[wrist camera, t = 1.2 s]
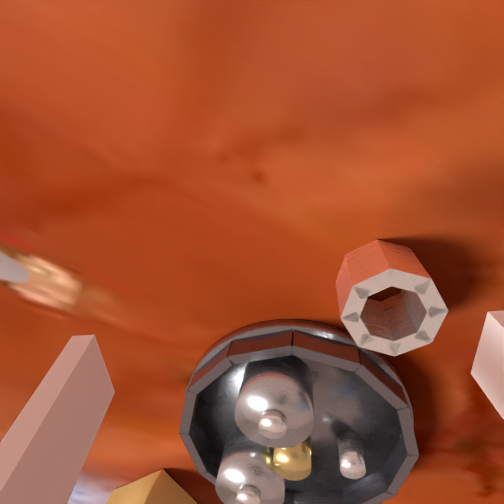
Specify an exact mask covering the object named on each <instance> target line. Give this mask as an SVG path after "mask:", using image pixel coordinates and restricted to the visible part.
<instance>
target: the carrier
mask: <svg viewBox="0 0 504 504" xmlns="http://www.w3.org/2000/svg"><path fill="white" fill-rule="evenodd" d="M179 434H180V436H181V438H182V440H183V442H184V444H185V446H186V448H187V450H188V452H189V454H190V456H191V458H192V460H193V462H194V464H195V466H196V468H197V470H198V472H199V474H200V475H202V476H203V477H204V478H206V479H207V480H208V481H209V482H211V483H212V484H213V485H215V490H216V493H217V495H218V497H219V498H220V500H221V501H222V502H223V503H224V504H380V503H382V502H384V501H386V500H388V499H390V498H392V497H395V496H396V494H397V492H398V491H399V489H400V487H401V486H402V484H403V482H404V481H405V479H406V477H407V476H408V474H409V472H410V471H411V469H412V467H413V466H414V464H415V462H416V461H417V459H418V457H419V452H418V448H417V443H416V438H415V434H414V416H413V409H412V406H411V403H410V399H409V396H408V393H407V390H406V387H405V385H404V383H403V381H402V379H401V377H400V375H399V374H398V372H397V371H396V370H395V368H394V367H393V365H392V364H391V363H390V362H389V361H388V360H387V359H386V358H385V357H384V356H383V355H382V354H381V353H380V352H376V351H373V350H369V349H365V348H362V347H358V346H357V344H356V342H355V341H354V339H353V338H352V336H351V334H350V333H349V332H347V331H344V330H342V329H339V328H336V327H333V326H330V325H327V324H323V323H318V322H313V321H307V320H296V319H280V320H270V321H263V322H259V323H255V324H251V325H247V326H245V327H242V328H240V329H237V330H235V331H233V332H231V333H229V334H227V335H226V336H224V337H222V338H221V339H220V340H218V341H217V342H216V343H214V344H213V345H212V346H211V347H210V348H209V349H208V350H207V351H206V352H205V353H204V355H203V356H202V358H201V359H200V360H199V362H198V364H197V366H196V368H195V370H194V372H193V374H192V377H191V379H190V381H189V384H188V388H187V391H186V398H185V404H184V409H183V415H182V420H181V426H180V431H179ZM394 495H395V496H394Z"/></svg>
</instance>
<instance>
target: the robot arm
mask: <svg viewBox="0 0 504 504" xmlns="http://www.w3.org/2000/svg"><path fill="white" fill-rule="evenodd" d="M471 374H472V376H473V377H474V379H475V380H476V381H477V383H478V384H479V386H480V387H481V388H482V390H483V391H484V393H485V394H486V395H487V397H488V398H489V400H490V401H491V403H492V404H493V405H494V407H495V408H496V410H497V411H498V412H499V414H500V415H501V417H502V418H503V419H504V311H490V312H488V313H487V316H486V320H485V323H484V327H483V331H482V334H481V338H480V341H479V345H478V349H477V352H476V356H475V359H474V363H473V367H472V370H471ZM114 393H115V391H114V388H113V385H112V383H111V380H110V377H109V374H108V371H107V369H106V366H105V363H104V360H103V357H102V355H101V352H100V349H99V346H98V343H97V341H96V338H95V335H82V336H72V337H71V339H70V340H69V342H68V343H67V345H66V346H65V348H64V349H63V351H62V352H61V354H60V355H59V357H58V358H57V360H56V361H55V363H54V364H53V366H52V367H51V369H50V370H49V371H48V373H47V374H46V376H45V377H44V379H43V380H42V382H41V383H40V385H39V386H38V388H37V389H36V391H35V392H34V394H33V395H32V397H31V398H30V400H29V401H28V402H27V404H26V405H25V407H24V408H23V410H22V411H21V413H20V414H19V416H18V417H17V419H16V420H15V422H14V423H13V425H12V426H11V428H10V429H9V431H8V432H7V434H6V435H5V436H4V438H3V439H2V441H1V442H0V504H67V502H68V500H69V498H70V495H71V493H72V491H73V488H74V486H75V484H76V481H77V479H78V477H79V474H80V472H81V470H82V467H83V465H84V463H85V460H86V458H87V456H88V453H89V451H90V449H91V446H92V444H93V442H94V439H95V437H96V435H97V432H98V430H99V428H100V425H101V423H102V421H103V418H104V416H105V414H106V411H107V409H108V407H109V404H110V402H111V400H112V397H113V395H114Z"/></svg>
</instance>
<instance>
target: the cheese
mask: <svg viewBox="0 0 504 504" xmlns="http://www.w3.org/2000/svg"><path fill="white" fill-rule="evenodd" d="M106 504H198V503H197V502H196V501H195V500H194V499H193V498H192V497H191V496H190V495H189V494H188V493H187V492H186V491H185V490H184V489H183V488H182V487H181V486H179V485H178V484H177V483H176V482H175V481H174V480H173V479H172V478H171V477H170V476H169V475H168V474H167V473H166V472H165V471H164V469H162V470H159V471H156V472H154V473H151V474H149V475H147V476H145V477H143V478H141V479H139V480H136V481H134V482H132V483H129V484H127V485H124V486H122V487H119V488H117V489H115V490H114V491H113V493H112V495H111V496H110V498H109V499H108V501H107V503H106Z"/></svg>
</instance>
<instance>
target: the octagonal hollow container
mask: <svg viewBox="0 0 504 504" xmlns="http://www.w3.org/2000/svg"><path fill="white" fill-rule="evenodd" d="M335 283H336V290H337V297H338V304H339V311H340V318H341V320H342V322H343V323H344V325H345V326H346V328H347V330H348V331H349V333H350V334H351V336H352V338H353V339H354V341H355V342H356V344H357V346H358V347H362V348H365V349H369V350H373V351H376V352H380V353H384V354H388V355H391V356H397V355H400V354H403V353H405V352H408V351H411V350H413V349H416V348H419V347H421V346H424V345H427V344H429V343H432V341H433V339H434V337H435V335H436V333H437V332H438V330H439V328H440V326H441V324H442V322H443V320H444V318H445V316H446V314H447V312H448V309H447V307H446V305H445V303H444V301H443V300H442V298H441V296H440V294H439V292H438V290H437V288H436V286H435V284H434V282H433V280H432V279H431V277H430V276H429V274H428V273H427V271H426V270H425V269H424V267H423V266H422V264H421V263H420V261H419V260H418V259H417V257H416V256H415V254H414V253H413V251H412V250H411V249H410V247H406V246H402V245H398V244H394V243H390V242H386V241H382V240H378V239H376V240H373V241H371V242H369V243H367V244H365V245H363V246H361V247H359V248H357V249H355V250H353V251H351V252H349V253H347V254H345V257H344V260H343V262H342V265H341V268H340V271H339V274H338V277H337V279H336V282H335ZM391 286H393V287H397V288H401V290H400V293H399V294H397V295H395V296H392V297H390V298H388V299H385V300H383V301H381V302H379V301H375V300H371V299H367V297H368V296H370V295H373V294H375V293H377V292H379V291H382V290H384V289H386V288H388V287H391Z"/></svg>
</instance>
